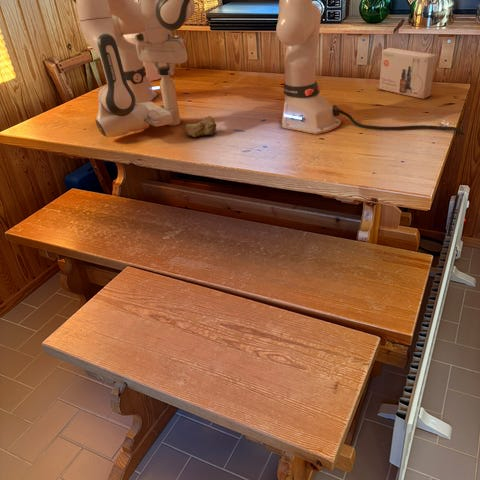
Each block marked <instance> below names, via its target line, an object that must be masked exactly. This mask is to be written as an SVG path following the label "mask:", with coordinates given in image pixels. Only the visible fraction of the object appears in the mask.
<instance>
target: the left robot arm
mask: <svg viewBox="0 0 480 480" xmlns="http://www.w3.org/2000/svg"><path fill="white" fill-rule="evenodd" d="M72 1H73V2H74V3H75V5H76V6H75V7H76V12H77V19H78V23H79V27H80V31H81V33H82V36H83V38H84V41H85V43H86V44H87V45H88V46H89V47H90V48H91V49H92V50H93V51H94V52H95V53H96V54H97V56H98V57H99V59H100V61H101V65H102V68H103V73H104V76H105V79H106V85H103V86H102V87H101V88H100V89H99V90H98V93H97V101H98V102H97V104H98V107H97V115H96V117H95V125H96V127H97V129H98V131H99V132H100V134H101V135H102V136H104V138H105V137H106V138H117V137H120V136H121V137H122V136H124V135H127V134H129V133H131V132H132V133H133V132H138V131H142V130H145V129H149V127H150V125H152V126H153V127H162V126H168V125H167V124H171V123H172V122H173V117H172V116H173V115H174V114H178V109H179V108H178V109H176V108H174V109H172V110H171V111H167V110H165V109H164V104H157V103H155V102H153V100H154V98H156V97H157V96H158V94H157V92H154V90H159V89H160V90H161V87H160V85H158V86H153V85H152V81H151V80H150V78H148V77H147V76H146V69H145V67H144V66H143V61H140V59H139V58H138V54H137V48H136V45H135V44H133V43H131V42H128V41H127V40H126V39H125V38H124V36H123V35H126V34H137V33H141V32H143V31H144V30H145V26H144V25H145V20H144V17H143V14H142V10H141V3H139V2H137V1H135V0H72Z"/></svg>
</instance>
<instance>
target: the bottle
mask: <svg viewBox="0 0 480 480" xmlns="http://www.w3.org/2000/svg"><path fill="white" fill-rule="evenodd" d="M159 87H160V93H161V99H162V103H163V104H162V105H164V109H165V110H167V111H171V110H172V109H174V108H176V109H178V114H174V115H173V116H172V117H173V122H172V123H171V124H167V125H166V126H170V127H173V126H179V125H180V124H181V122H182V121H181V117H180V116H181V115H180V110H179V104H178V103H179V102H178V97H177V91H176V85H175V81H174V79H173V78H172V77H171V75H162V78H161V79H160V81H159Z"/></svg>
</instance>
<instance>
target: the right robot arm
mask: <svg viewBox="0 0 480 480" xmlns="http://www.w3.org/2000/svg"><path fill="white" fill-rule="evenodd" d="M139 1H140V3H139V4H141V10H142V14H143V17H144V20H145V25H144V26H145V30H144V31H143V32H141V33H139V34H136V35H135V39H136V41H138V42H137V43H136V48H137V54H138V58H139V59H140V61H146V62H152V64H153V66H154V68H155V69H156V72H157V74H160V73H159V68H160V67H159V65H158V64H159V62H163V63H167V64H168V66H169V67H170V70H168V75H170V76H174V75H175V67H176V64H184V63H186V62H187V61H188V59H189V57H188V52H187V49H186V45H185V39H184V38H183V36H181V35H180V34H172V31H177V30H179V29H181V28H182V27H183V25H184V24H185V23H186V22H188V21H189V20H190V19H191V18H192V16H193V15H194V13H195V9H196V8H195V7H196V6H195V2H194V0H139ZM321 13H322V12H321V10H320V8H319V6H317V5H316V4H315V3H313V0H279V1H278V15H277V16H278V17H277V24H276V36H277V38H278V40H279V41H280V42H281V43H282V44H283V45H285V46H286V50H285V55H284V59H283V67H284V68H283V70H284V82H283V89H282V90H283V94H284V103H283V111H282V116H281V120H280V121H281V128H282V129H288V130H292V131H298V132H303V133H309V134H313V135H314V134H315V135H319V134H324V133H328V132H331V131H332V130H335V129H337V128H338V127H339V126H340V125H341V124H342V120H341V119H340V118H337V117H340V116H341V115H344V116H345V117H347V118H348V119H349V120H350V121H351V122H352V124H354V125H355V126H357V127H359V128H363V129H373V130H385V131H386V130H389V131H390V130H391V131H392V130H397V131H398V130H411V129H428V130H431V129H433V130H440V131H441V130H442V131H455V132H457V133H458V134H459V135H461V136H464V135H465V134H464V132H463V130H461V129H460V128H458V127H456V126H440V125H427V124H426V125H425V124H424V125H422V124H421V125H401V126H400V125H399V126H380V125H370V124H363V123H360V122H358V121H356V120H355V119H354V118H353V117H352V115H350V114H349V113H348V112H346V111H343V110H342V109H340V108H339V107H338V106H337V105H335V104H334V105H332V104H331V103H330V102H329V101H328V100H327V99H326V98H325V97H324V96H323V95H322V94H321V93H320V90H321V89H322V86H323V85H322V84H320V85H319V84H318V81H317V53H318V48H319V40H320V39H319V38H320V29H321V20H322V14H321ZM340 114H341V115H340ZM459 197H460V193H458V194H457V195H456V196H455V197H454V202H453V206H452V211H451V215H450V219H449V222H448V223H449V224H448V229H447V236H451V233H452V228H453V224H454V223H453V222H454V219H455V214H456V210H457V206H458V202H459Z"/></svg>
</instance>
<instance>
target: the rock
mask: <svg viewBox="0 0 480 480" xmlns="http://www.w3.org/2000/svg"><path fill="white" fill-rule="evenodd" d="M217 126H218V125H217V123H216V122H215V118H214V117H213V116H212V115H209V116H205V117H204V119H201V120H200V121H199V122H198V123H187V124H185V132H186V134H187V136H189V137H192V138H197V137H203V136H212V135H214V134H215V131H216V130H217Z"/></svg>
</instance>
